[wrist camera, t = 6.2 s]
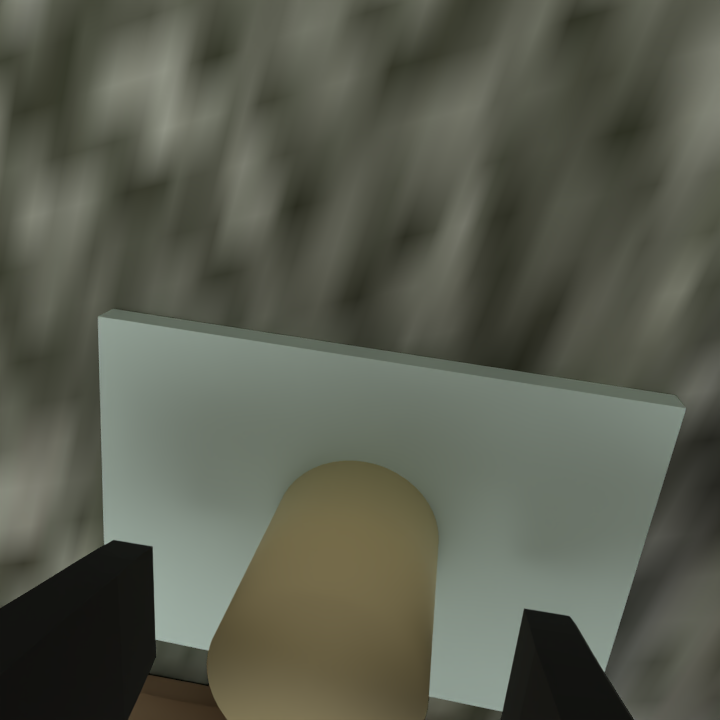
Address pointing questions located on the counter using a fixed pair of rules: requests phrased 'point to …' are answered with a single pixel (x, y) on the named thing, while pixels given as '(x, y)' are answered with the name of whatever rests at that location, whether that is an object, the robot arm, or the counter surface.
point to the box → (175, 701)
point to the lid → (368, 511)
